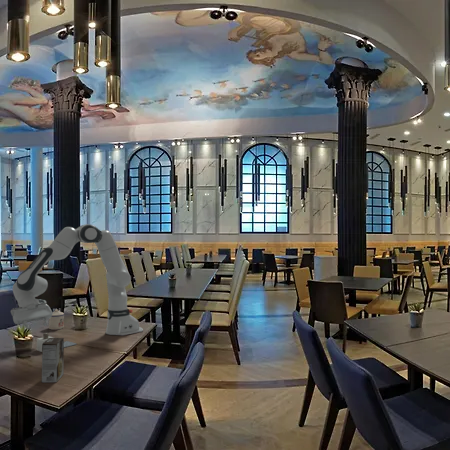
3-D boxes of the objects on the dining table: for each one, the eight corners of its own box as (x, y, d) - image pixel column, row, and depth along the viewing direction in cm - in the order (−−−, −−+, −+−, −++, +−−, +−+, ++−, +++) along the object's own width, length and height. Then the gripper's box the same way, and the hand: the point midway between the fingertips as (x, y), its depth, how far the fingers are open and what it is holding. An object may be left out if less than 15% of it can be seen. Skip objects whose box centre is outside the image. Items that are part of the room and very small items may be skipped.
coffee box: (48, 374, 177) (49, 337, 177) (63, 374, 178) (64, 337, 178) (40, 382, 168) (41, 343, 168) (57, 382, 169) (57, 343, 169)
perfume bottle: (48, 347, 218) (48, 331, 218) (54, 349, 214) (54, 333, 214) (36, 350, 213) (36, 333, 213) (42, 352, 209) (43, 335, 209)
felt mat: (67, 341, 229) (67, 341, 229) (77, 344, 224) (77, 343, 224) (52, 345, 222) (52, 344, 222) (62, 348, 216) (62, 347, 216)
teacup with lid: (61, 329, 255) (61, 311, 256) (46, 329, 255) (46, 311, 255) (67, 325, 267) (67, 307, 268) (53, 325, 267) (53, 307, 267)
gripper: (11, 305, 214) (20, 326, 208) (48, 300, 231) (57, 319, 225) (7, 312, 217) (16, 334, 211) (44, 307, 233) (53, 326, 227)
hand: (38, 326), depth 218 cm, fingers open, 8 cm apart
